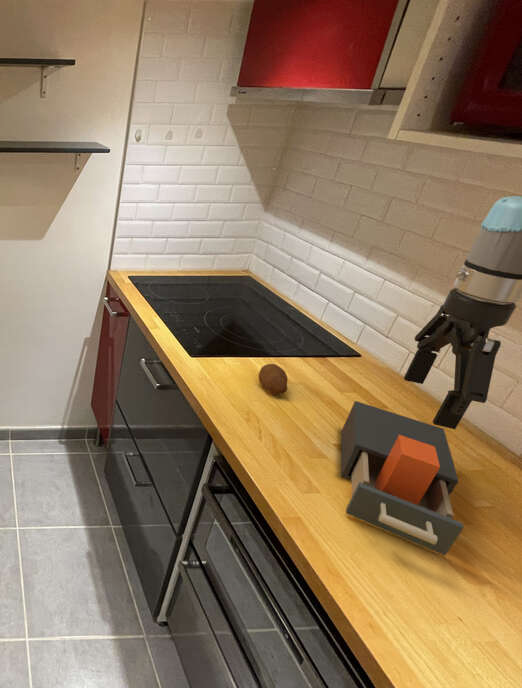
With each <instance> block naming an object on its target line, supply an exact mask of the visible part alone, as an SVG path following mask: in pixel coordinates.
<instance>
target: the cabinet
mask: <svg viewBox="0 0 522 688" xmlns="http://www.w3.org/2000/svg"><path fill="white" fill-rule="evenodd" d="M399 435H402V436H405V437H408V438H411V439H414V440H417V441H420V442H423V443H426V444H429V445H431V446H434V447H435V449H436V453H437V457H438V461H439V465H440V468H439V470H438V472H437V473H436V475H435V477H437V478H440V479H443V480H445V483H446V487H447V491H448V495H449V497H450V496H451V495H452V493H453V491H454V489H455V488H456V486H457V485H458V483H459V482H460V480H459V477H458V473H457V470H456V466H455V463H454V460H453V456H452V451H451V449H450V445H449V442H448V438H447V435H446V432H445V429H444V427H443V428H442V427H440V426H437V425H434V424H433V425H432V424H429V423H427V422H423V421H420V420H417V419H414V418H412V417H407V416H405V415H401V414H398V413H395V412H391V411H389V410H386V409H384V408H383V409H382V408H380V407H376V406H373V405H369V404H366V403H363V402H360V401H358V400H357V401H356V400H354V402H353V404H352V407H351V409H350V411H349V413H348V415H347V418H346V420H345V422H344V424H343V427H342V429H341V442H340V443H341V444H340V446H341V447H340V477H341V478H343V479H345V480H348V481H350V482H352V476H351V467H352V465H353V463H354V461H355V459H356V457H357V455H358V453H359V451H360V450H363V451H366V452H368V453H371V454H374V455H377V456H379V457H382V458H385V459H387V457H388V455H389V453H390V451H391V449H392V448H393V446H394V444H395V442H396V440H397V438H398V436H399Z"/></svg>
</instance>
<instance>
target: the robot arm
mask: <svg viewBox="0 0 522 688" xmlns="http://www.w3.org/2000/svg"><path fill="white" fill-rule="evenodd" d="M472 244H473V245H471V248H470V250H469V252H468V255H467V256H466V259H465V261H464V263H463V265H462V267H461V268H460V271H459V270H458V271H457V272H455V276H456V278H455V280H454V283H453V287H454V288H452V289H450V290H449V292H448V294H447V296H446V298H445V300H444V303H443V304H441V305H440V307H439V309H438V310H437V313H436V314H435V315H434V316H433V317H432V318H431V319H430V320H429V321H428V322H427V323H426V324H425V325H424V326H423V328H422V329H421V330H420V331H419V332H418V333H416V335H415V336H414V341H415V342H417V344H416V349H417V350H416V352H415V354H414V356H413V358H412V360H411V362H410V364H409V366H408V368H407V371H406V372H405V374H404V376H403V380H404V381H406V382H411V383H415V384H420V385H423V384H424V383H425V381H426V379H427V377H428V375H429V373H430V371H431V369H432V368H433V365H434V363H435V361H436V359H437V357H438V354H437V353H441V349H442V348H444V347H446V346H448V345H451V352H452V354H453V355H455V360H454V362H455V365H454V381H453V383H454V384H453V389H451V390H447V394H446V396H445V398H444V400H443V401H442V403H441V405H440V407H439V409H438V410H437V413H436V414H435V416H434V418H433V419H432V424H433V426H438V427H443V428H446V429H450V430H451V429H452V430H456V429H457V427H458V425H459V424H460V422H461V420H462V418H463V417H464V415H465V413H466V411H468V408H469V406H470V405H471V403H472V402H477V403H481V404H485V403H486V402H487V400H488V394H489V391H490V390H489V389H490V385H491V381H492V375H493V371H494V366H495V362H496V361H495V360H496V356H497V354H498V352H499V350H500V348H501V346H502V342H501V341H500V340H497V339H492V338H489V335H490V330H491V329H493V328H497V327H504V326H505V325H507V324H508V323H509V321H510V319H511V317H512V315H513V314H514V312H515V310H516V309H517V305H516V303H519V302H521V300H522V195H521V196H520V195H519V196H518V195H511V196H504V197H502V198H499V199H498V200H496V201H495V203H494V204H493V205H492V207H491V209H490V210H489V211H488V214H487V215H486V216H485V218H484V220H483V221H482V223H481V224H480V229H479V231H478V233H477V236H476V237H475V239H474V242H473V243H472Z"/></svg>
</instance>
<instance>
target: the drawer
mask: <svg viewBox="0 0 522 688" xmlns="http://www.w3.org/2000/svg"><path fill="white" fill-rule="evenodd" d="M385 461H386V459H385V458H382V457H379V456H377V455H374V454H371V453H368V452H366V451H363V450H360V451H359V453H358V455H357V457H356V459H355V461H354V463H353V465H352V467H351V476H352V481H351V498H350V500H349V502H348V504H347V506H346V508H345V514H347V515H349V516H352V517H354V518H356V519H358V520H361V521H363V522H365V523H368V524H370V525H373V526H375V527H377V528H379V529H382V530H384V531H386V532H389V533H391V534H394V535H396V536H398V537H400V538H402V539H405V540H407V541H409V542H411V543H414V544H417V545H418V546H421V547H424V548H426V549H428V550H430V551H433V552H436V553H438V554H440V555H442V556H444V557H445V556H446V555H447V554H448V552H449V551H450V549H451V548H452V546H453V544H454V543H455V542H456V540H457V539H458V538H459V536H460V534H461V533H462V531H463V530H464V528H465V527H464V523H463V522H461V521H459V520H456V519H454V518H453V517H454V511H453V507H452V503H451V500H450V499H451V498H450V496H449V495H448V491H447V487H446V483H445V480H443V479H440V478H437V477H434V479H433V480H432V482H431V484H430V485H429V487H428V489H427V490H426V492H425V494H424V496H423V497H422V499H421V501H420V502H419V504H418V505H416V504H413V503H411V502H408V501H406V500H403V499H400V498H398V497H395V496H393V495H390V494H388V493H385V492H383V491H380V490H378V489H375V480H376V479H377V477H378V475H379V473H380V471H381V469H382V467H383V465H384V463H385Z"/></svg>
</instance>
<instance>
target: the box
mask: <svg viewBox="0 0 522 688" xmlns="http://www.w3.org/2000/svg"><path fill="white" fill-rule="evenodd" d="M439 468H440V465H439V461H438V457H437V453H436V449H435V447H434V446H431V445H429V444H426V443H423V442H420V441H417V440H414V439H411V438H408V437H405V436H402V435H399V436H398V438H397V440H396V442H395V444H394V446H393V448H392V449H391V451H390V453H389V455H388V457H387V459H386V461H385V463H384V465H383V467H382V469H381V471H380V473H379V475H378V477H377V479H376V480H375V489H378V490H380V491H383V492H385V493H388V494H390V495H393V496H395V497H398V498H400V499H403V500H406V501H408V502H411V503H413V504H416V505H418V504H419V502H420V501H421V499H422V497H423V496H424V494H425V492H426V490H427V489H428V487H429V485H430V484H431V482H432V480H433V479H434V477H435V475H436V473H437V472H438V470H439Z"/></svg>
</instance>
